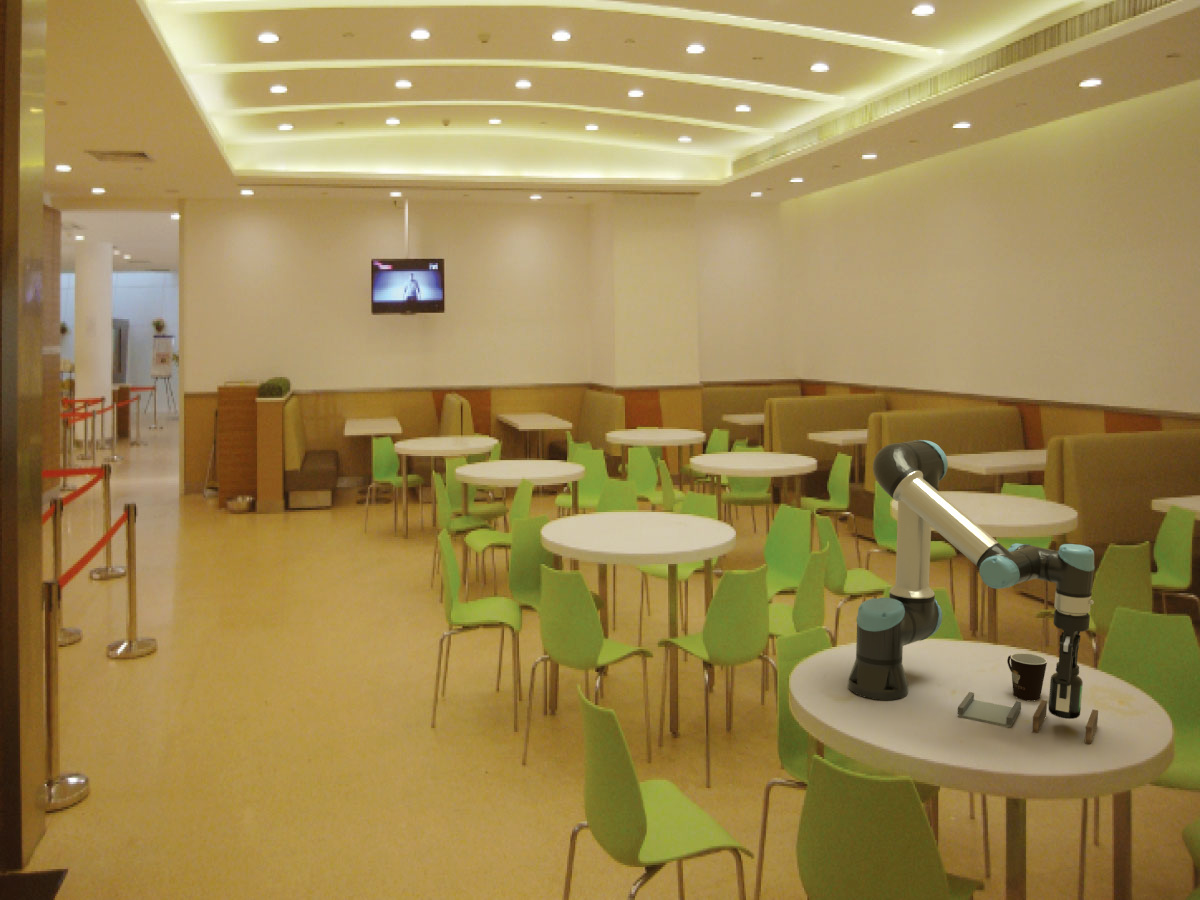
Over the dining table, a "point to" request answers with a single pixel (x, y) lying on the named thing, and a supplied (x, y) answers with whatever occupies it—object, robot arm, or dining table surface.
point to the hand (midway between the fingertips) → (1064, 705)
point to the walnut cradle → (1041, 714)
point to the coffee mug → (1027, 675)
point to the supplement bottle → (1074, 694)
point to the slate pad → (988, 711)
